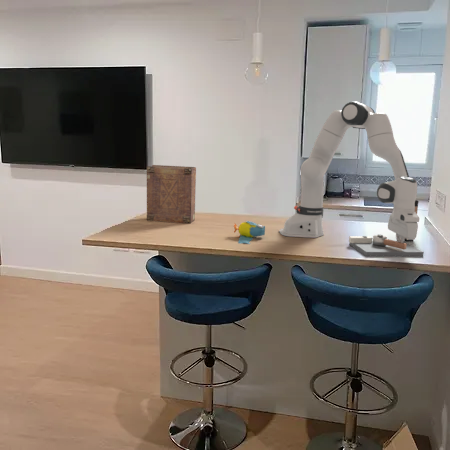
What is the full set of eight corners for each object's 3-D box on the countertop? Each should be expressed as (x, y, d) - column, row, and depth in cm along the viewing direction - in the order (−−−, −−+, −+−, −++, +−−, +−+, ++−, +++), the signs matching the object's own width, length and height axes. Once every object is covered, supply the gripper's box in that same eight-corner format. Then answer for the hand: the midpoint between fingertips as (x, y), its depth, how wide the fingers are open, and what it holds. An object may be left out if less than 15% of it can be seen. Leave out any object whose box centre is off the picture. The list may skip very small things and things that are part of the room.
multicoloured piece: (369, 243, 218) (370, 234, 217) (377, 242, 222) (378, 233, 221) (400, 252, 206) (401, 242, 205) (408, 250, 209) (409, 240, 208)
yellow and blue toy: (237, 214, 246) (266, 216, 244) (236, 230, 248) (265, 233, 246) (231, 225, 219) (264, 228, 217) (230, 244, 221) (263, 246, 219)
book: (146, 220, 264) (146, 166, 257) (151, 217, 272) (151, 164, 266) (190, 223, 259) (191, 168, 253) (194, 220, 268) (195, 167, 262)
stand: (363, 256, 205) (364, 245, 204) (347, 244, 224) (348, 234, 223) (423, 256, 208) (424, 246, 207) (401, 244, 227) (402, 235, 226)
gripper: (386, 209, 218) (382, 238, 221) (407, 218, 199) (403, 250, 202) (399, 209, 219) (395, 238, 222) (421, 219, 199) (417, 250, 202)
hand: (399, 244), depth 212 cm, fingers closed
